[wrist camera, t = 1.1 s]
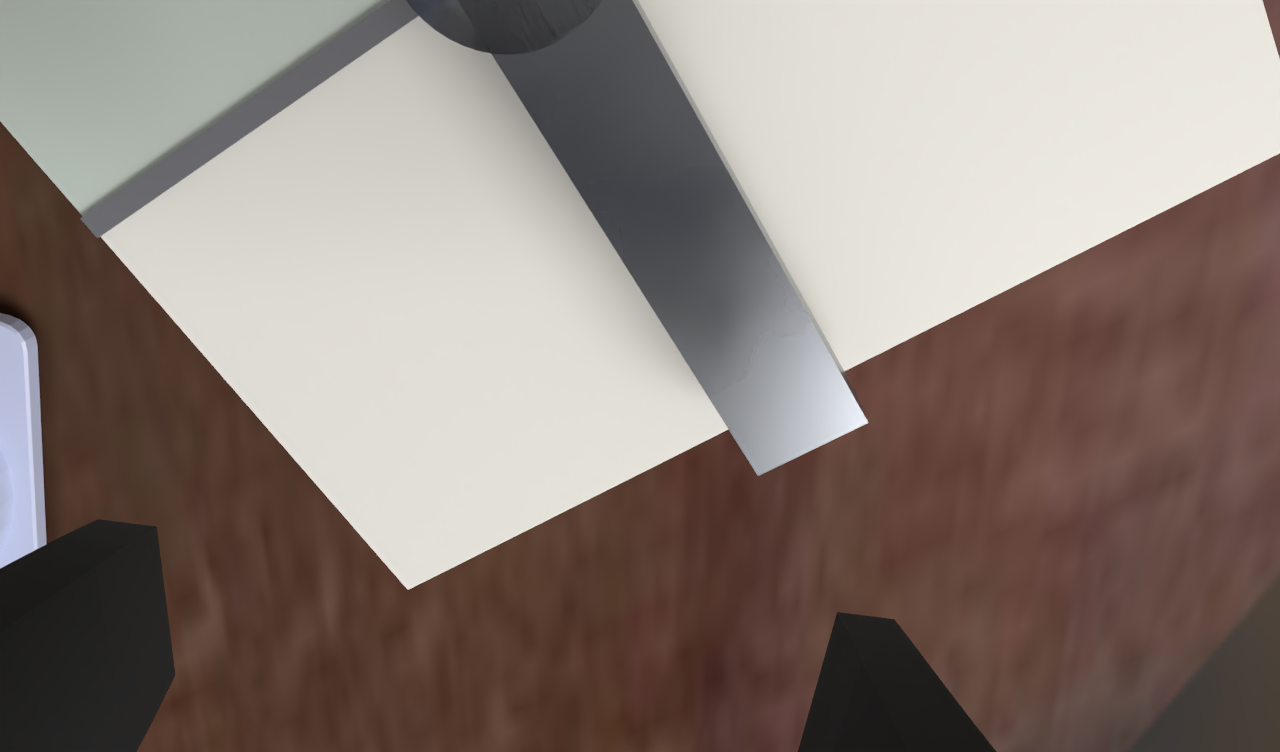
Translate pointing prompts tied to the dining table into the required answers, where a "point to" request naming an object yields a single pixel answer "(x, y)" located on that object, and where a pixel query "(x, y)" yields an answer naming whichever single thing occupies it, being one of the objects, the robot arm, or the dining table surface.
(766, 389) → the bar
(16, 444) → the robot arm
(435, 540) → the plate
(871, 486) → the dining table surface
